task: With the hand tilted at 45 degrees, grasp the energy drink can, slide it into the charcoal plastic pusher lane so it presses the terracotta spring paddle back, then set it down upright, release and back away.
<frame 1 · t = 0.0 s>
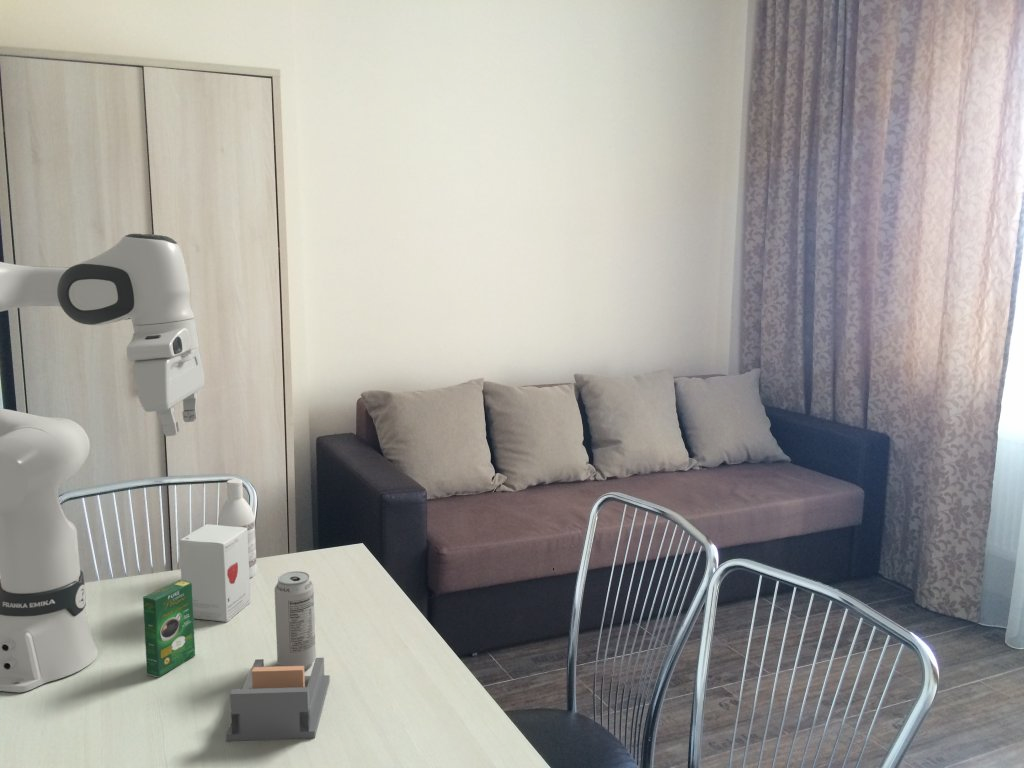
hand: (181, 427, 131), 39 cm above the table, tool pointing down, fingers open, 8 cm apart
spring paddle: (278, 686, 121), point 4 cm above the table, slide at 0.0 cm
bath foam: (239, 576, 171), on the table
coffee box: (172, 666, 135), on the table
energy drink can: (296, 665, 136), on the table
supplement box: (218, 611, 155), on the table
pusher lane: (281, 709, 123), on the table
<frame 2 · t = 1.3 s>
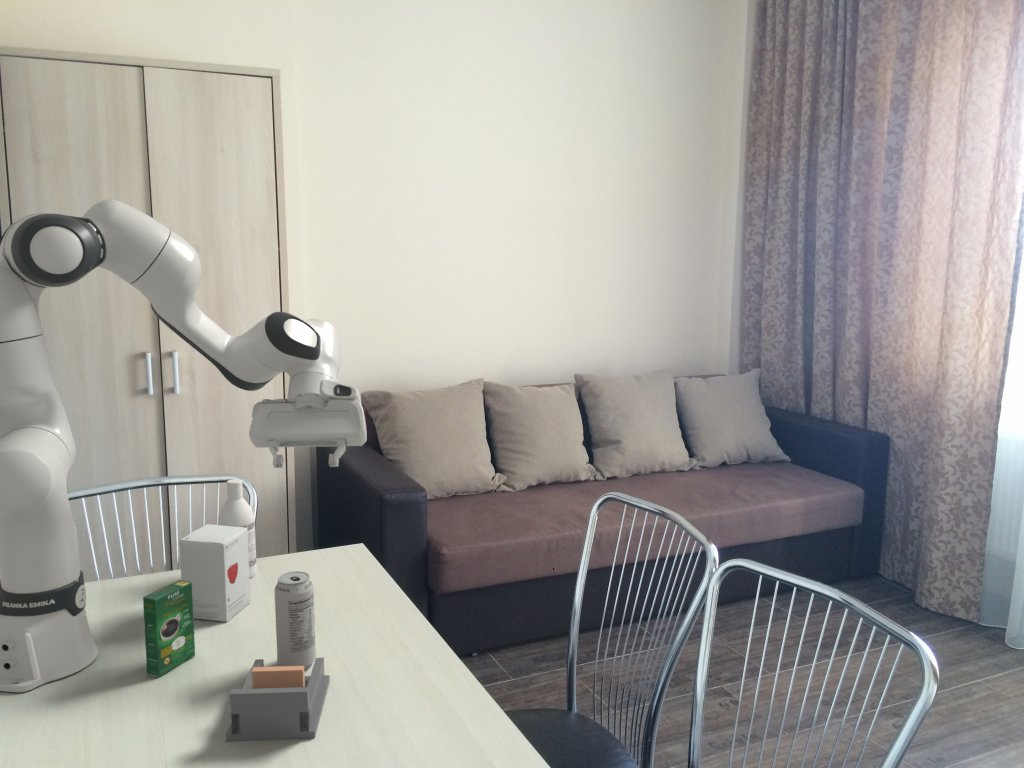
hand: (305, 465, 145), 29 cm above the table, tool tilted 45°, fingers open, 8 cm apart
nothing on the table moved.
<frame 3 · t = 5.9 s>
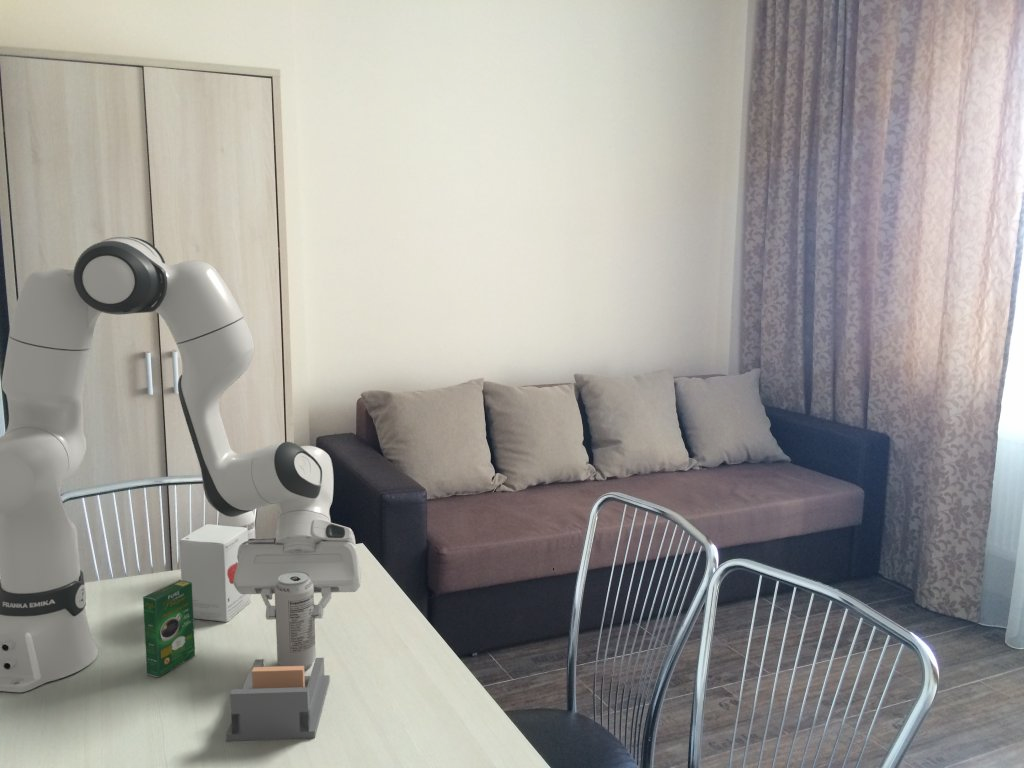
hand: (294, 618, 134), 8 cm above the table, tool tilted 45°, fingers closed on energy drink can, 6 cm apart
energy drink can: (296, 665, 136), on the table, touching gripper
everything else where it was.
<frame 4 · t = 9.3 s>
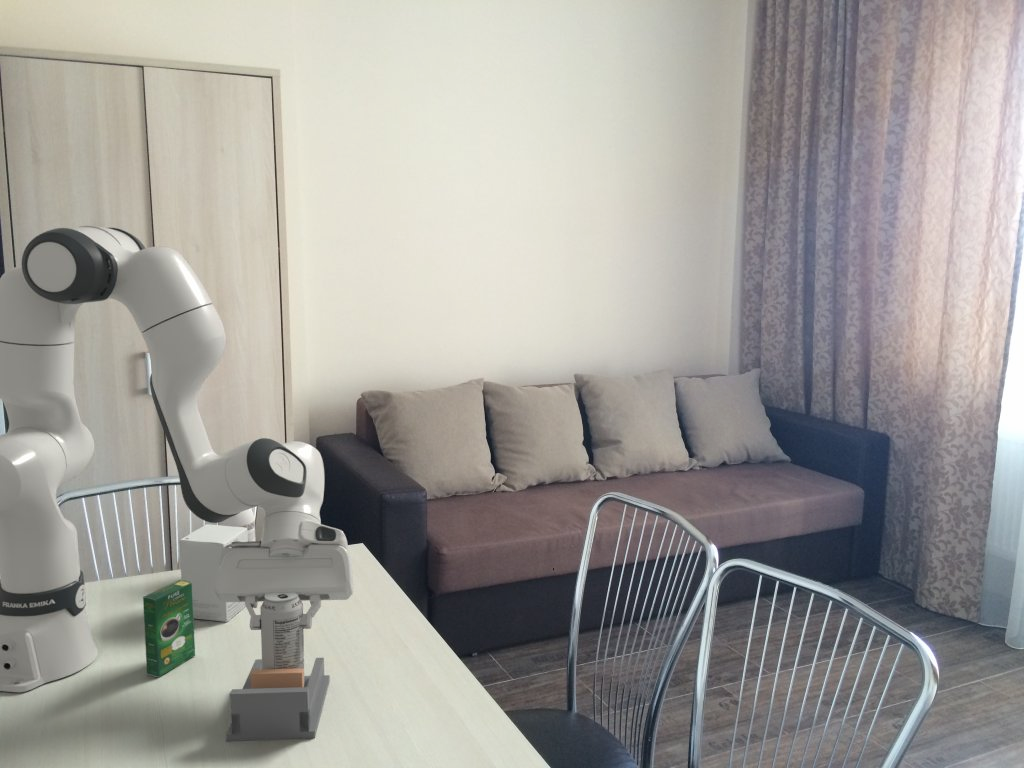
hand: (280, 628, 123), 12 cm above the table, tool tilted 45°, fingers closed on energy drink can, 6 cm apart
spring paddle: (277, 689, 121), point 4 cm above the table, slide at 0.7 cm, touching energy drink can
energy drink can: (283, 693, 125), point 1 cm above the table, touching gripper, spring paddle
everything else where it was.
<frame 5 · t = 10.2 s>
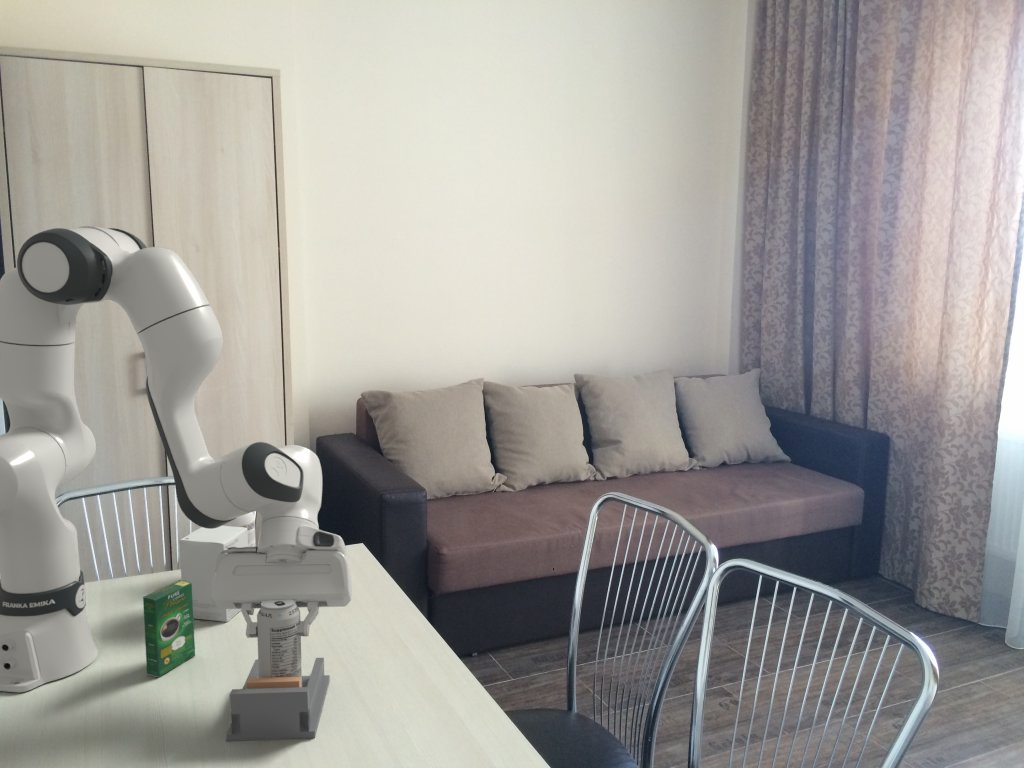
hand: (277, 635, 121), 12 cm above the table, tool tilted 45°, fingers closed on energy drink can, 6 cm apart
spring paddle: (274, 698, 118), point 4 cm above the table, slide at 3.1 cm, touching energy drink can
energy drink can: (281, 702, 123), point 1 cm above the table, touching gripper, spring paddle
everything else where it was.
when the fingers open (11 cm above the table, at t = 11.2 s): energy drink can stays where it is, resting on pusher lane, spring paddle.
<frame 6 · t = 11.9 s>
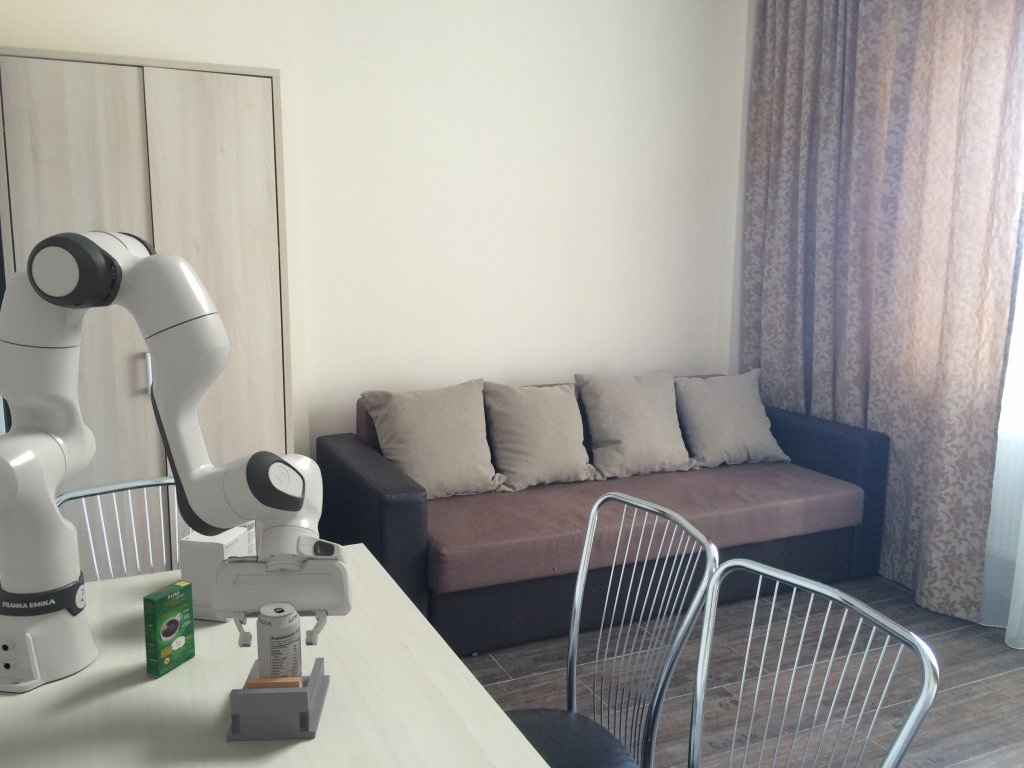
hand: (277, 645, 121), 10 cm above the table, tool tilted 45°, fingers open, 8 cm apart
energy drink can: (281, 705, 123), point 1 cm above the table, touching pusher lane, spring paddle
everything else where it was.
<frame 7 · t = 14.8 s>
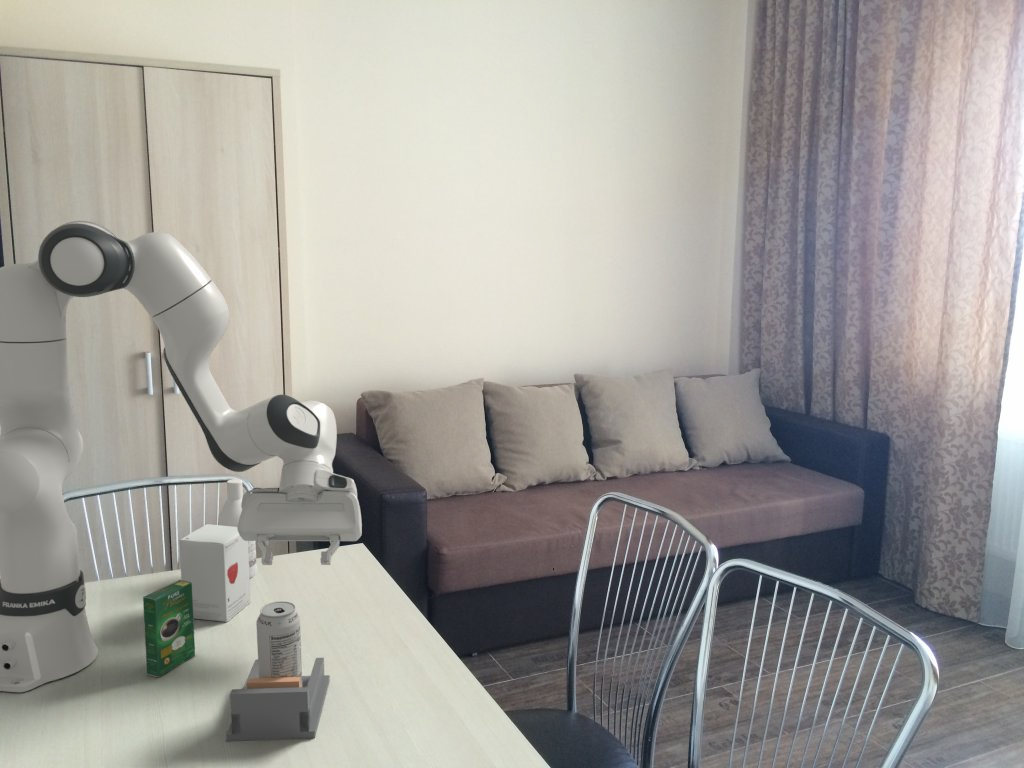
hand: (296, 563, 137), 16 cm above the table, tool tilted 45°, fingers open, 8 cm apart
nothing on the table moved.
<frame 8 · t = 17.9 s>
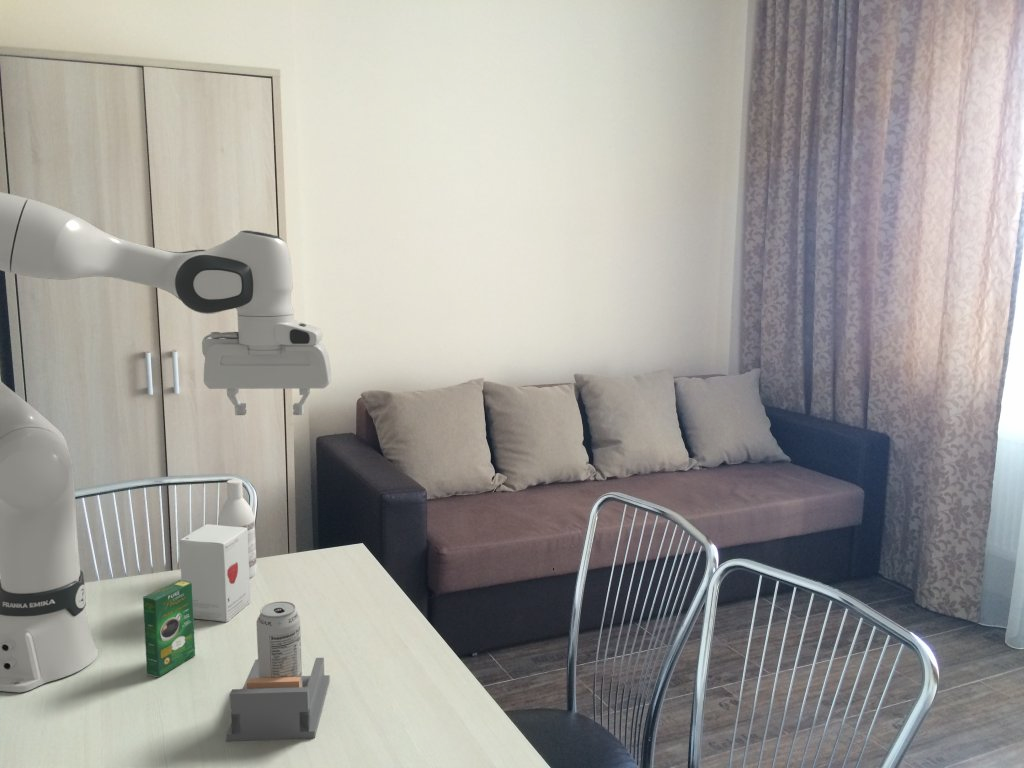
hand: (269, 414, 139), 39 cm above the table, tool pointing down, fingers open, 8 cm apart
nothing on the table moved.
at the end: energy drink can 2.0 cm from the target spot on the pusher lane, point 0.8 cm above the pusher lane's base; energy drink can tilted 0°; the gripper is holding nothing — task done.
